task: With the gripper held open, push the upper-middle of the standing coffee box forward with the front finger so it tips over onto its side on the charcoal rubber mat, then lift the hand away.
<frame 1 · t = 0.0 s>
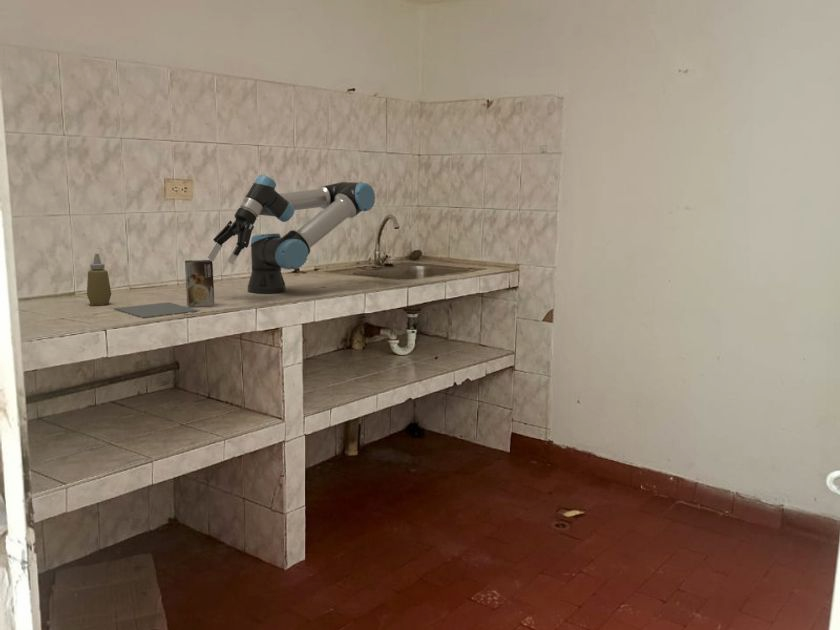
hand: (219, 260, 271), 15 cm above the table, tool tilted 35°, fingers open, 13 cm apart
mat: (156, 310, 255), on the table
coffee box: (200, 306, 266), on the table
squeeze bottle: (99, 305, 264), on the table
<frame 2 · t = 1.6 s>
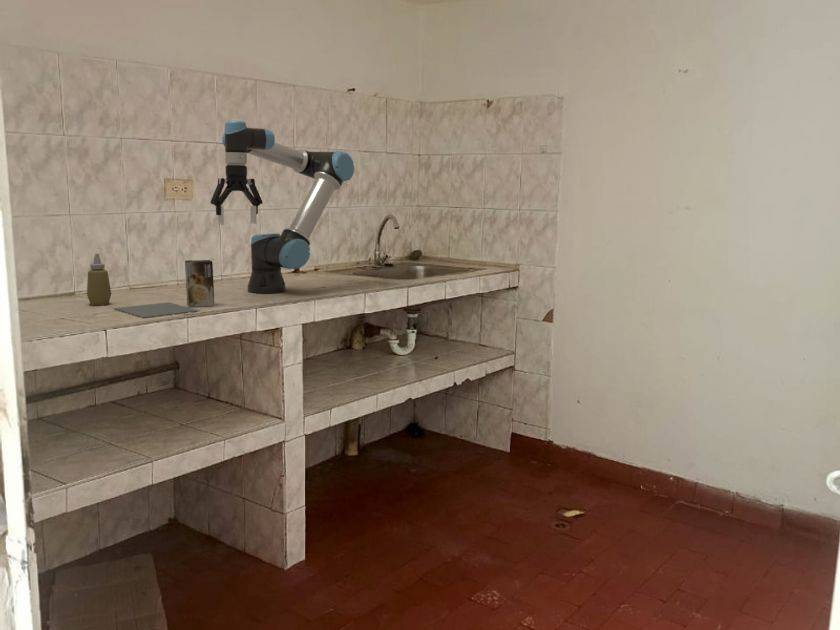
hand: (237, 224, 272), 28 cm above the table, tool pointing down, fingers open, 13 cm apart
nothing on the table moved.
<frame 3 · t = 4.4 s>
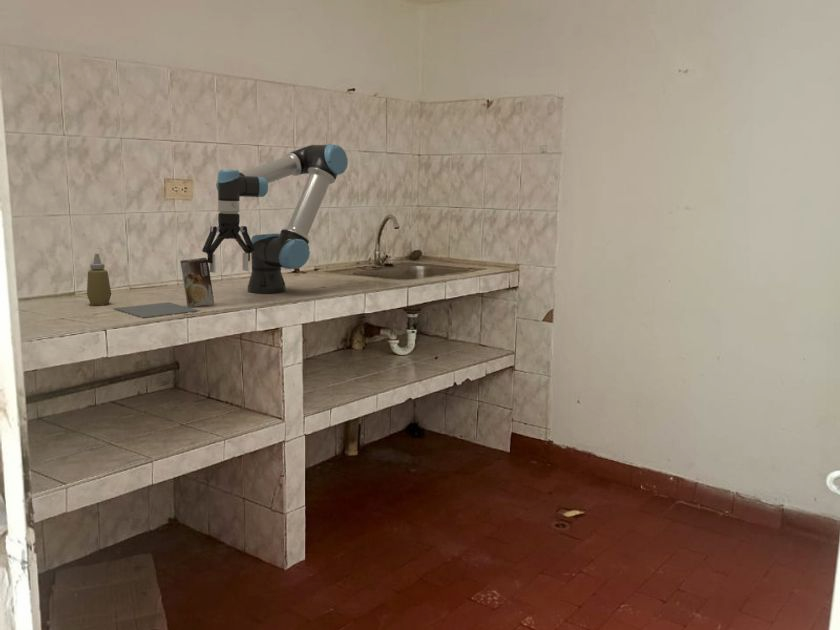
hand: (229, 271, 273), 11 cm above the table, tool pointing down, fingers open, 13 cm apart
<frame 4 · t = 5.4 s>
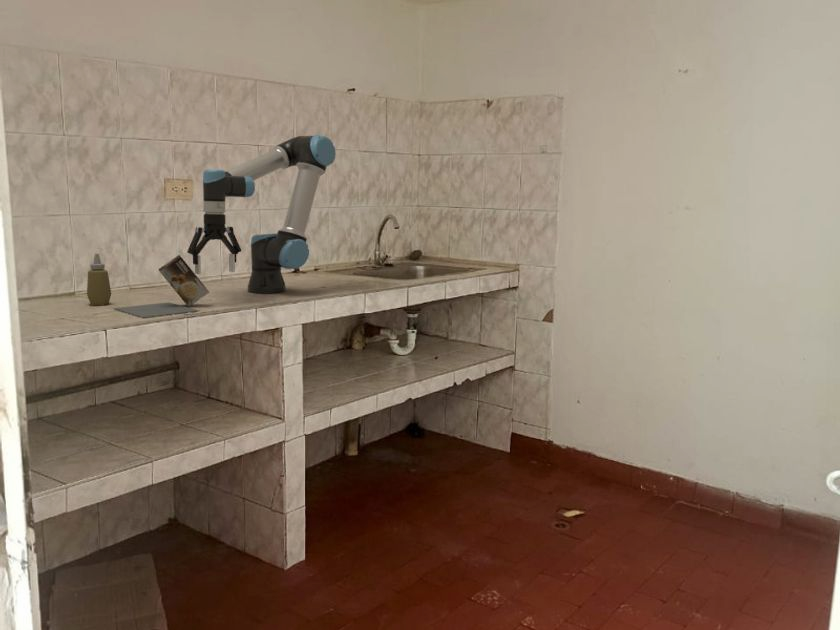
hand: (215, 272, 269), 11 cm above the table, tool pointing down, fingers open, 13 cm apart
coffee box: (198, 299, 265), point 2 cm above the table
everything else where it was.
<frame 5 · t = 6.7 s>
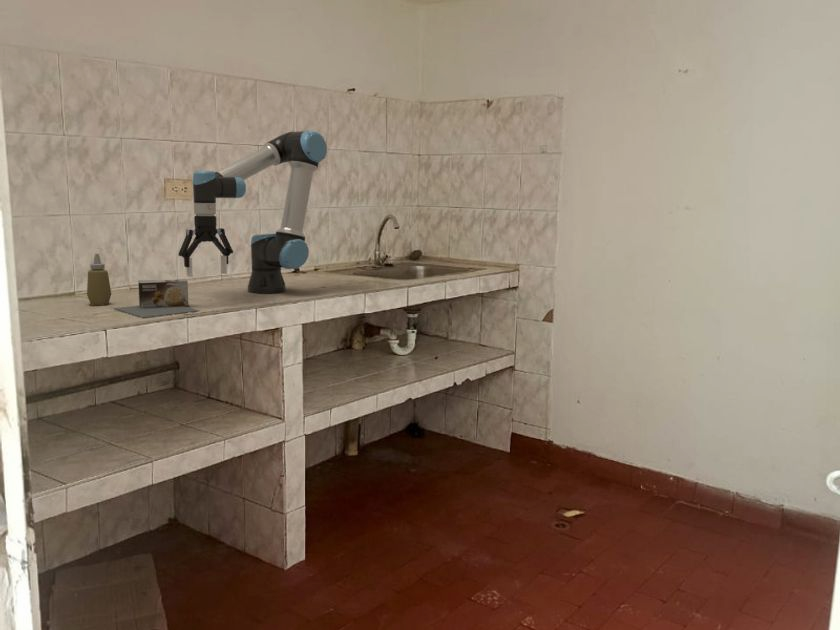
hand: (207, 275, 266), 11 cm above the table, tool pointing down, fingers open, 13 cm apart
coffee box: (187, 292, 264), point 5 cm above the table, touching mat
everything else where it was.
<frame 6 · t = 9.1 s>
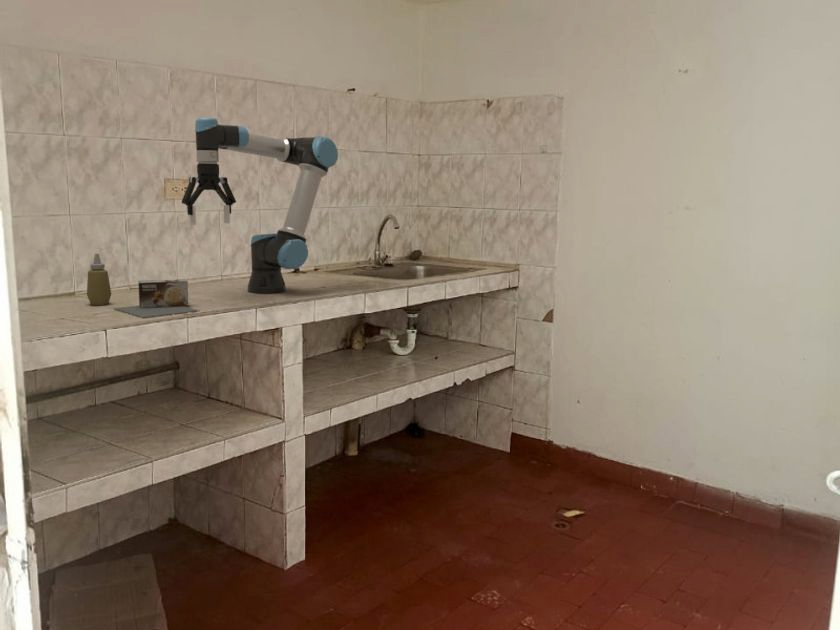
hand: (210, 223, 266), 29 cm above the table, tool pointing down, fingers open, 13 cm apart
nothing on the table moved.
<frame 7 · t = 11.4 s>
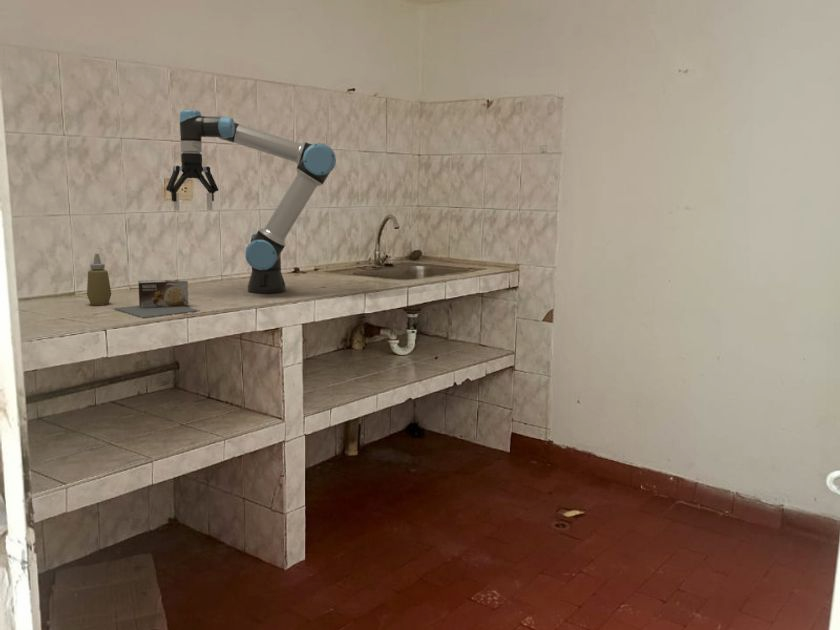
hand: (193, 210, 282), 33 cm above the table, tool pointing down, fingers open, 13 cm apart
nothing on the table moved.
at the end: coffee box tilted 89°; coffee box touching mat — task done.
